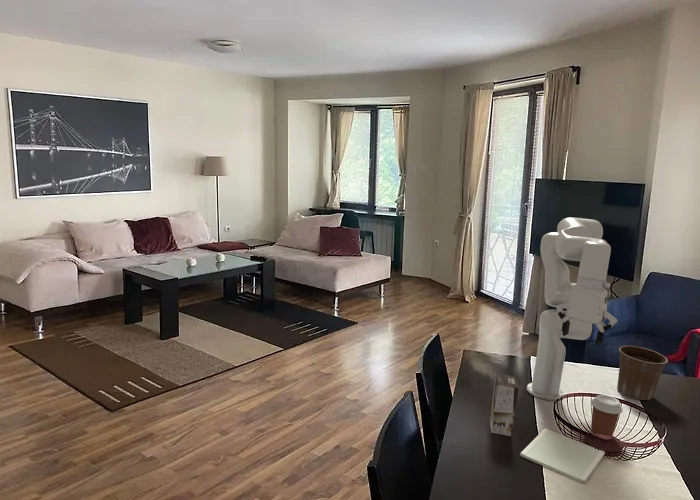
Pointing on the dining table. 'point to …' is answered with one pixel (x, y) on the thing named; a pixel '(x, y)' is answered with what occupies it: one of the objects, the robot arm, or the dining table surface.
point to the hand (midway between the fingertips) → (581, 339)
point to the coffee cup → (605, 414)
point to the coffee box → (503, 404)
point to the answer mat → (563, 455)
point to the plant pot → (639, 372)
